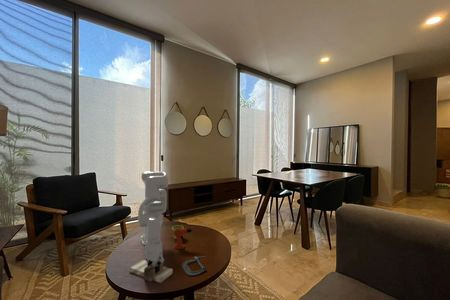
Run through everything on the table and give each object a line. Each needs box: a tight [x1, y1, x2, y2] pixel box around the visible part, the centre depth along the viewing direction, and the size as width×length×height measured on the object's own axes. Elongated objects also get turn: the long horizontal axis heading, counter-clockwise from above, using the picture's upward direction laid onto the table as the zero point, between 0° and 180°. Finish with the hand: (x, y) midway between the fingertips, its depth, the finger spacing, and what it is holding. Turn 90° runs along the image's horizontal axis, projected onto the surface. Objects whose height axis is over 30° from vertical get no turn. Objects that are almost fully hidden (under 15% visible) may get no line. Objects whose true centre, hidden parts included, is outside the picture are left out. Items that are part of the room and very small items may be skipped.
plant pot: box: [171, 225, 185, 240], centre depth 179 cm, size 9×9×9 cm
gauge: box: [143, 261, 164, 283], centre depth 125 cm, size 5×10×7 cm, turn 154°
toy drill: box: [173, 227, 199, 250], centre depth 162 cm, size 5×19×15 cm, turn 94°
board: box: [129, 259, 174, 283], centre depth 129 cm, size 24×10×3 cm, turn 64°
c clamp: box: [181, 255, 207, 277], centre depth 137 cm, size 20×17×3 cm
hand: (153, 270), depth 125 cm, fingers closed on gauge, 5 cm apart
